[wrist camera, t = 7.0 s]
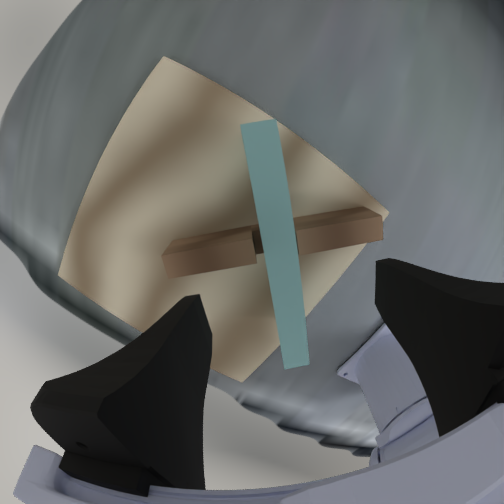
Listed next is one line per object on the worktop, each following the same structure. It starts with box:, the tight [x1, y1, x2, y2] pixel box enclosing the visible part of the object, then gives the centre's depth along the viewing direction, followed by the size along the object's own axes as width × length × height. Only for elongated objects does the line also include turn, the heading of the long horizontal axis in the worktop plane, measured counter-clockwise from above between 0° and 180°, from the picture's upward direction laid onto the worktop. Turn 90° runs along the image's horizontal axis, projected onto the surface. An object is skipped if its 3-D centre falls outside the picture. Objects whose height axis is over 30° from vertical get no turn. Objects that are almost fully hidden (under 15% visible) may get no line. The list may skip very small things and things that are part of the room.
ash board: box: [58, 56, 389, 382], centre depth 20 cm, size 20×20×1 cm
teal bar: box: [240, 119, 309, 369], centre depth 16 cm, size 14×2×6 cm, turn 11°
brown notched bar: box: [161, 206, 383, 279], centre depth 18 cm, size 14×2×3 cm, turn 100°
